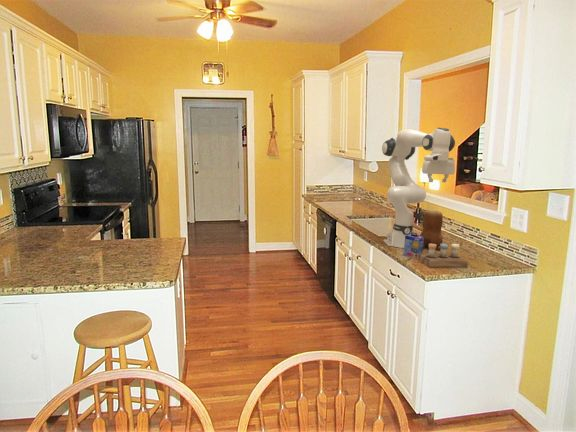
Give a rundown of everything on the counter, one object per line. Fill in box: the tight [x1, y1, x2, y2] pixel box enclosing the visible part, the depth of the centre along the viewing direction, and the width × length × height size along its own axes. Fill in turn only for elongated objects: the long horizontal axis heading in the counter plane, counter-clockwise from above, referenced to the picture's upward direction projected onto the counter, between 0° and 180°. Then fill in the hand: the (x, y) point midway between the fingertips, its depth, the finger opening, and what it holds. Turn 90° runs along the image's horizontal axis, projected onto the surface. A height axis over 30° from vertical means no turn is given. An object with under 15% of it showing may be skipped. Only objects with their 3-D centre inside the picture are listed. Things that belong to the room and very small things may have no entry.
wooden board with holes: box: [417, 253, 469, 269], centre depth 241 cm, size 14×22×4 cm, turn 101°
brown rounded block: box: [419, 209, 444, 249], centre depth 277 cm, size 14×13×25 cm
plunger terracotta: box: [427, 243, 437, 257], centre depth 239 cm, size 4×4×7 cm
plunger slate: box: [439, 243, 449, 257], centre depth 240 cm, size 4×4×7 cm
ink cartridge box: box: [403, 231, 424, 259], centre depth 255 cm, size 10×6×14 cm, turn 51°
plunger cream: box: [450, 243, 460, 257], centre depth 241 cm, size 4×4×7 cm
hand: (437, 182), depth 243 cm, fingers open, 8 cm apart
